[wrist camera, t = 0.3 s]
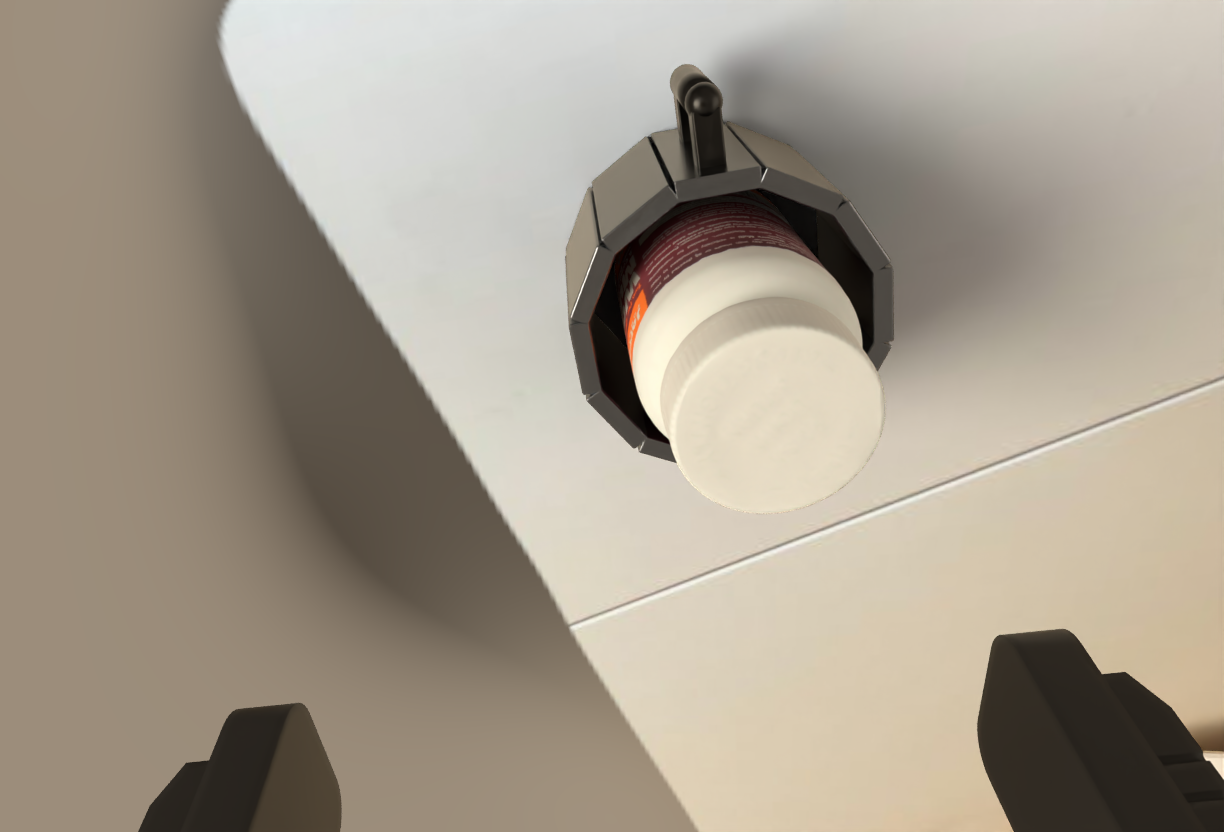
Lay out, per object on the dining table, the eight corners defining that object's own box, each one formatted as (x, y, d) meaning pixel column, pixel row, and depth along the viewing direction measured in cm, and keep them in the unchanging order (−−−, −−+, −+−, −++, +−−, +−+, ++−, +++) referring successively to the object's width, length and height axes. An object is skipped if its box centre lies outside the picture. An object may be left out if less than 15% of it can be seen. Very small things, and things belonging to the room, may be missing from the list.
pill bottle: (582, 223, 29) (599, 376, 20) (752, 139, 28) (862, 256, 18) (658, 370, 32) (706, 568, 22) (815, 298, 31) (938, 472, 21)
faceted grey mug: (530, 84, 27) (526, 123, 22) (826, 29, 27) (893, 56, 22) (593, 400, 33) (602, 491, 27) (839, 357, 32) (894, 441, 27)
